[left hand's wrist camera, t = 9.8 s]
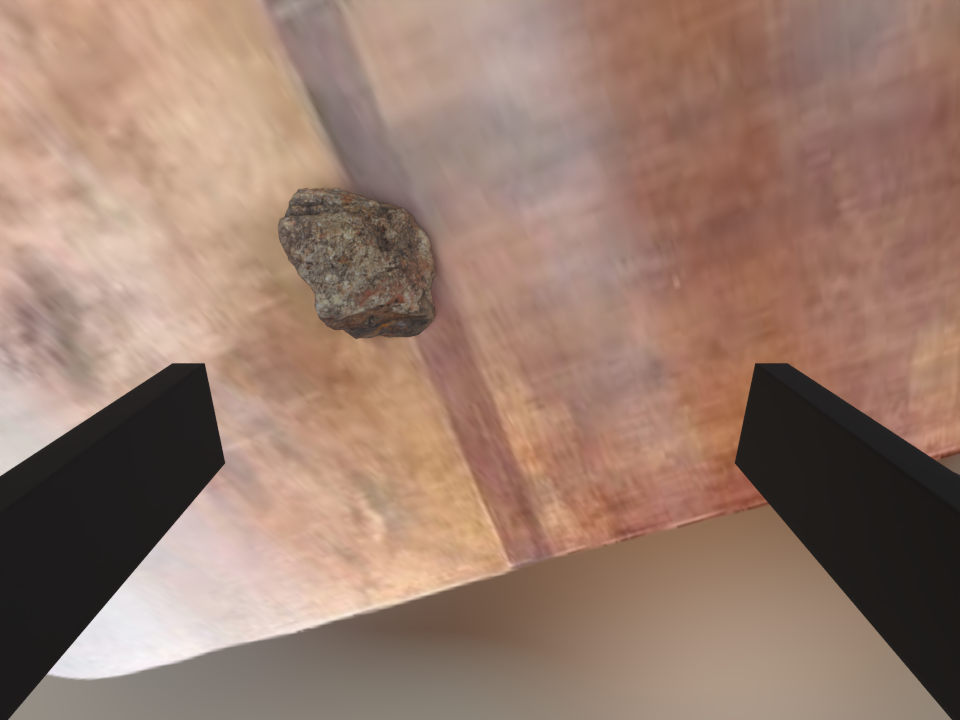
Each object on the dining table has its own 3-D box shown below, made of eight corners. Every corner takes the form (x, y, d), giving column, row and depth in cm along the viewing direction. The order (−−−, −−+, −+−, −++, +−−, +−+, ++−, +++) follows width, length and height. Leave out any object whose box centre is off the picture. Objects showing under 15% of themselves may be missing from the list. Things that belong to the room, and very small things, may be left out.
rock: (349, 342, 49) (451, 323, 49) (326, 385, 42) (447, 363, 41) (297, 186, 43) (413, 162, 42) (259, 202, 35) (400, 173, 35)
